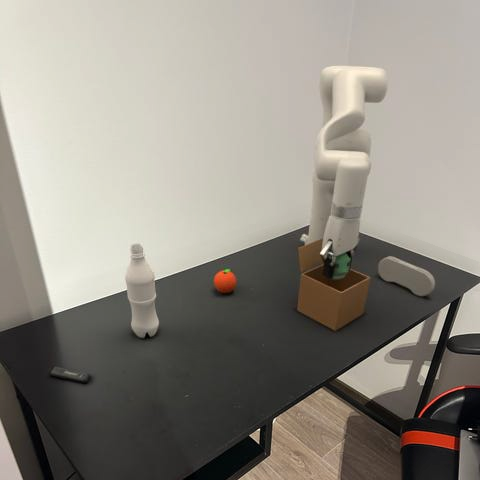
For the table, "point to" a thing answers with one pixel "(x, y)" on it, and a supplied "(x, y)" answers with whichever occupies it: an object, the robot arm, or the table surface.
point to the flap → (310, 255)
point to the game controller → (406, 275)
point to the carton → (332, 297)
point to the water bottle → (141, 293)
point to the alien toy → (340, 266)
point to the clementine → (225, 281)
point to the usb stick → (70, 374)
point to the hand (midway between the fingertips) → (336, 272)
